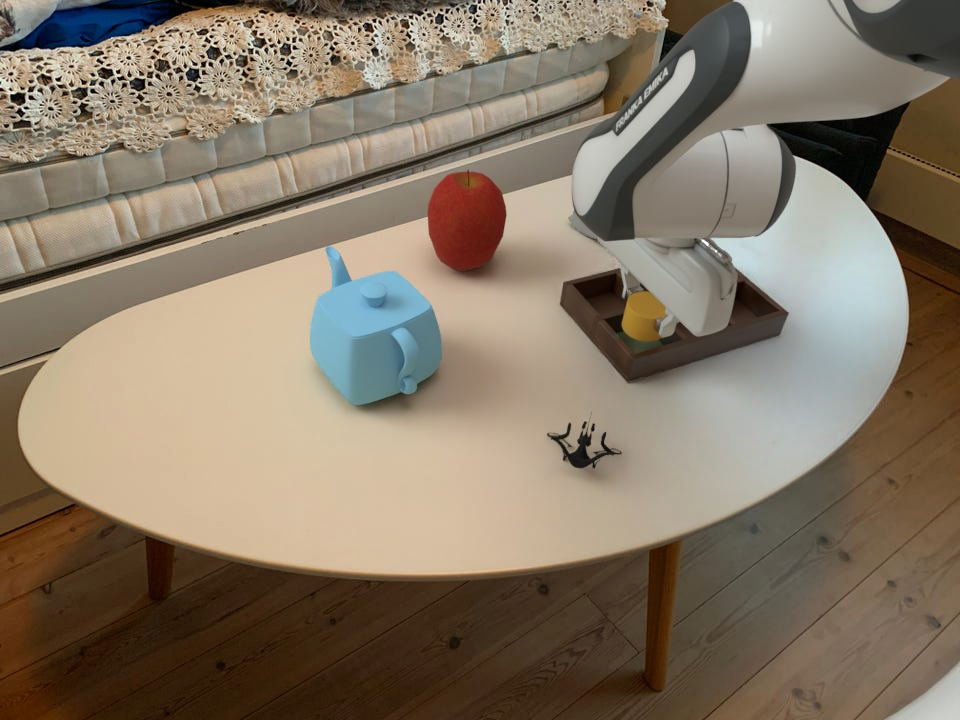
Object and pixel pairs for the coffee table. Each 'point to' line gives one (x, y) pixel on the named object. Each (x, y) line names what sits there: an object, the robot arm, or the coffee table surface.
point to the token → (642, 316)
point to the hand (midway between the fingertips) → (646, 316)
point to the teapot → (373, 334)
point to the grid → (603, 310)
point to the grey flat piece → (581, 226)
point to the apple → (466, 219)
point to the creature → (582, 448)
